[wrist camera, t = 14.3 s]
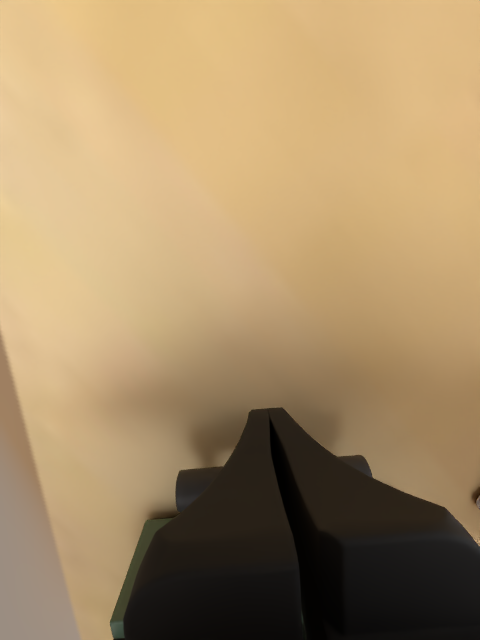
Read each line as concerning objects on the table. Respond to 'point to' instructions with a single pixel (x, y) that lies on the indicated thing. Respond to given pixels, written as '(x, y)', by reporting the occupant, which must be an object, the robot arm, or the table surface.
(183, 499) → the drawer
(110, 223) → the table surface
